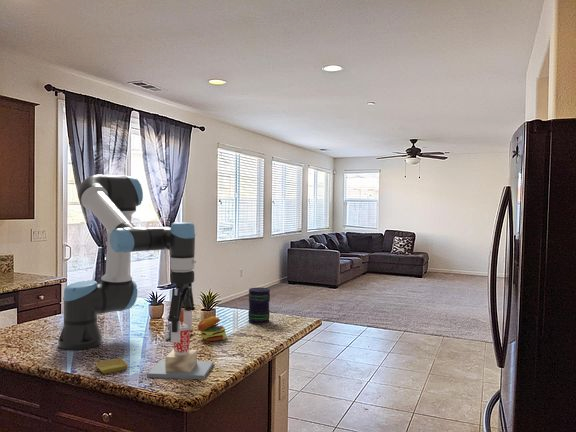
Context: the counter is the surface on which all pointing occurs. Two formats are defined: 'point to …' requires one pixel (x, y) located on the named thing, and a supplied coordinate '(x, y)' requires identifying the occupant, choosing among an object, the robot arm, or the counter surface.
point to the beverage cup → (183, 339)
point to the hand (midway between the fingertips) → (181, 335)
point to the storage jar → (259, 305)
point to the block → (181, 361)
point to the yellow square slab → (112, 365)
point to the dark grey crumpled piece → (170, 332)
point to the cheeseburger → (211, 329)
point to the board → (196, 373)
